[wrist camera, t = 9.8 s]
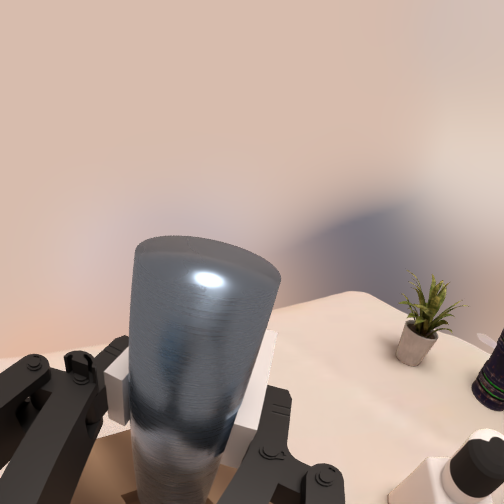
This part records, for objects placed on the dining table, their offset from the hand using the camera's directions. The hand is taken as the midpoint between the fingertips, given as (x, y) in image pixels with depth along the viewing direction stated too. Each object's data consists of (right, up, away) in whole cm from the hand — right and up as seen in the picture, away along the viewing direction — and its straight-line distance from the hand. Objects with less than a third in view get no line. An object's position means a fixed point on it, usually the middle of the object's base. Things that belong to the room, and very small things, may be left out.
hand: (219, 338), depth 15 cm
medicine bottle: (+18, -22, +1) cm, 28 cm away
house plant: (+30, -15, +33) cm, 47 cm away
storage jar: (+45, -22, +21) cm, 55 cm away
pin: (-3, -10, -3) cm, 10 cm away
